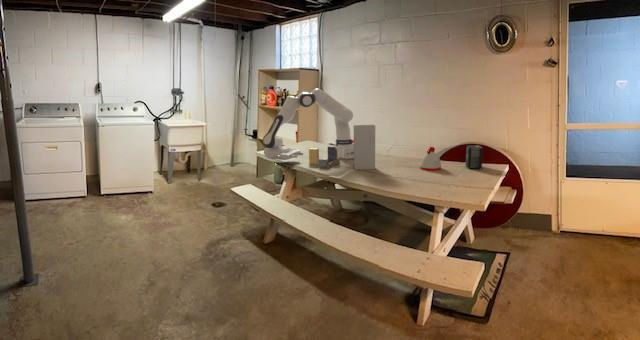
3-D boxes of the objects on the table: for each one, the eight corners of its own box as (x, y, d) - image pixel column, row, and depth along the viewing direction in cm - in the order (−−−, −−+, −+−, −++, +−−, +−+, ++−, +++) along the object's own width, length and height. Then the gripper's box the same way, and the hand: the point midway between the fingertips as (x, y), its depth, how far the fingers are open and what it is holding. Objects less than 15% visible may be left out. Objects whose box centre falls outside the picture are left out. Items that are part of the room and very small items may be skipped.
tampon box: (482, 169, 279) (483, 147, 276) (467, 169, 281) (468, 147, 278) (479, 165, 290) (480, 145, 287) (465, 165, 292) (466, 144, 288)
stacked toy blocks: (327, 162, 311) (326, 145, 308) (339, 163, 307) (339, 146, 304) (315, 168, 293) (314, 150, 290) (328, 169, 289) (328, 151, 286)
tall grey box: (373, 167, 293) (374, 124, 287) (375, 169, 288) (375, 125, 281) (353, 167, 293) (353, 125, 286) (354, 169, 288) (354, 126, 281)
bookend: (320, 166, 295) (320, 158, 293) (328, 167, 292) (328, 158, 291) (318, 167, 292) (318, 159, 291) (326, 168, 290) (326, 159, 288)
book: (311, 163, 309) (311, 148, 306) (319, 164, 307) (318, 148, 304) (309, 165, 306) (308, 148, 303) (316, 165, 303) (316, 149, 300)
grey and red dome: (444, 168, 285) (445, 146, 282) (433, 171, 276) (434, 149, 273) (427, 165, 295) (428, 144, 292) (415, 168, 286) (416, 147, 283)
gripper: (276, 152, 305) (293, 153, 299) (289, 147, 323) (305, 148, 318) (277, 160, 307) (293, 162, 301) (290, 155, 325) (306, 156, 319)
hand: (300, 155), depth 309 cm, fingers open, 8 cm apart
